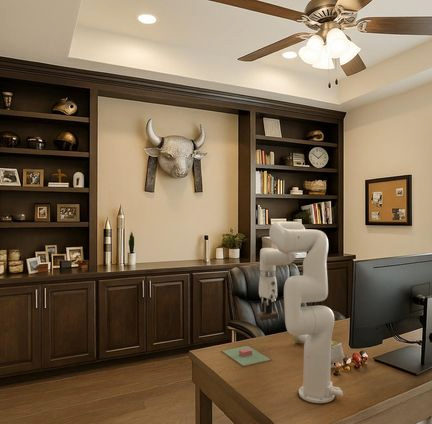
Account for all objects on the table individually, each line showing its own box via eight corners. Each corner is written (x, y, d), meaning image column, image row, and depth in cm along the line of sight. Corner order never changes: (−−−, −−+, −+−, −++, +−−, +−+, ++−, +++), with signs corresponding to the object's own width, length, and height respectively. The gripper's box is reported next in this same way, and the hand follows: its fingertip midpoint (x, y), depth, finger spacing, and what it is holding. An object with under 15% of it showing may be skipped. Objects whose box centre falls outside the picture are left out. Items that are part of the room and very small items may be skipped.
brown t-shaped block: (255, 318, 185) (256, 300, 185) (273, 316, 190) (273, 298, 190) (260, 320, 182) (260, 302, 182) (277, 318, 187) (278, 300, 187)
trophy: (291, 327, 192) (331, 345, 166) (303, 325, 195) (344, 343, 169) (291, 344, 192) (330, 365, 166) (303, 342, 195) (344, 362, 169)
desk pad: (271, 360, 170) (271, 359, 170) (243, 366, 162) (243, 365, 162) (247, 346, 187) (247, 345, 187) (221, 351, 179) (221, 350, 179)
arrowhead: (331, 370, 160) (331, 346, 160) (327, 368, 162) (327, 344, 162) (346, 366, 164) (346, 343, 164) (342, 364, 166) (342, 341, 166)
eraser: (239, 354, 174) (239, 350, 174) (248, 352, 177) (248, 348, 177) (242, 357, 172) (242, 352, 172) (252, 355, 174) (252, 350, 174)
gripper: (283, 275, 181) (283, 315, 181) (265, 271, 195) (264, 307, 195) (270, 276, 177) (269, 317, 177) (252, 272, 191) (251, 309, 191)
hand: (267, 312), depth 186 cm, fingers closed on brown t-shaped block, 2 cm apart
